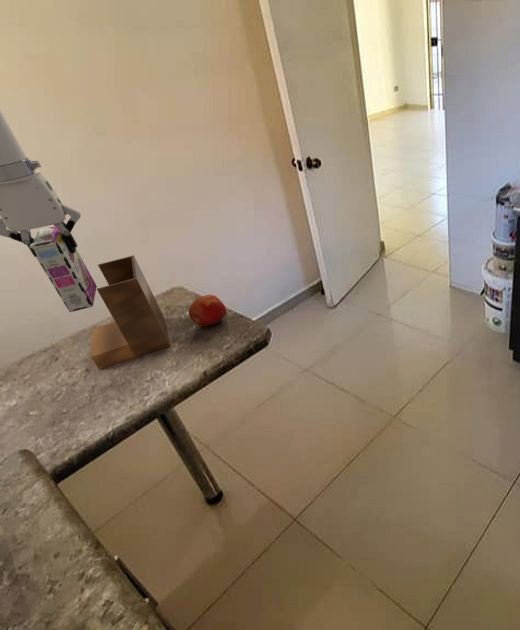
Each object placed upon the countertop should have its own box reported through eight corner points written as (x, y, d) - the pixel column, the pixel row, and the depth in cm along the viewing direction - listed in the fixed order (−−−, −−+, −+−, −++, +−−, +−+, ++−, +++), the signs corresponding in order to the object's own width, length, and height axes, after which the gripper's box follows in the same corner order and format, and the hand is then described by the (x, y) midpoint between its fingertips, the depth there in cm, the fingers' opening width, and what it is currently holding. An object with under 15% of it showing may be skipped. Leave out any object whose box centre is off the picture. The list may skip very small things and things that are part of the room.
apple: (233, 320, 119) (224, 296, 114) (204, 335, 114) (193, 310, 110) (219, 311, 124) (209, 287, 119) (190, 325, 119) (179, 300, 114)
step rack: (99, 370, 105) (54, 301, 94) (100, 339, 116) (59, 274, 104) (170, 346, 111) (136, 278, 100) (164, 318, 122) (133, 255, 111)
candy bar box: (95, 306, 99) (56, 240, 90) (69, 313, 97) (27, 246, 88) (98, 285, 107) (63, 223, 98) (75, 291, 106) (37, 229, 96)
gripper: (61, 159, 92) (103, 238, 102) (-41, 176, 85) (14, 259, 95) (58, 166, 86) (102, 249, 96) (-52, 185, 79) (8, 272, 90)
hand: (58, 253), depth 96 cm, fingers closed on candy bar box, 5 cm apart
